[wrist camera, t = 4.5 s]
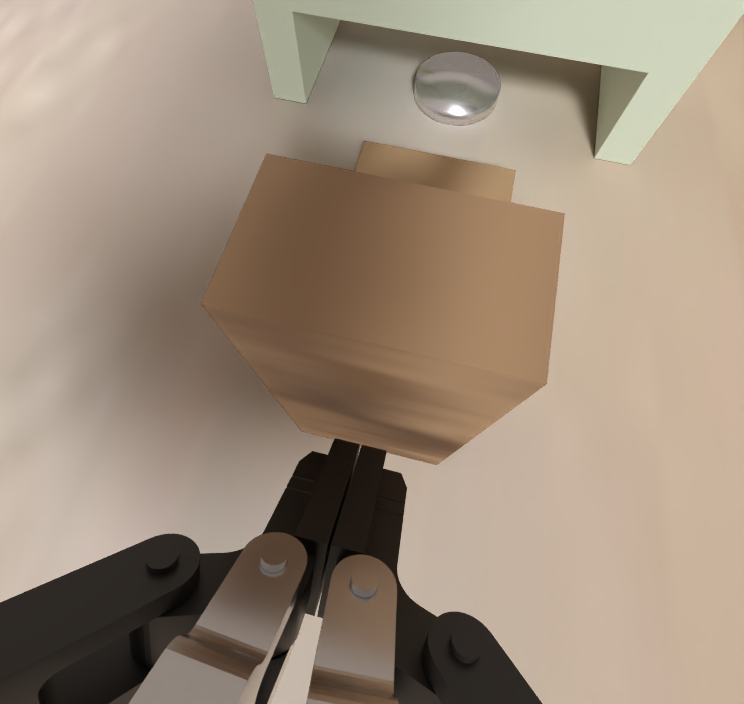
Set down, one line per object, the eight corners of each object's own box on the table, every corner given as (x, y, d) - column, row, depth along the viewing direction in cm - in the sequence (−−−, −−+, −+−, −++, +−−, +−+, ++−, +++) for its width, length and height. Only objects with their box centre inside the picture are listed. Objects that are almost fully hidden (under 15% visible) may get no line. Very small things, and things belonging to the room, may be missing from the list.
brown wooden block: (506, 190, 23) (634, -107, 12) (460, 470, 18) (608, 398, 7) (364, 162, 24) (362, -146, 13) (279, 425, 19) (147, 291, 8)
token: (500, 78, 27) (506, 59, 26) (488, 137, 25) (494, 119, 24) (422, 64, 27) (424, 45, 26) (405, 120, 26) (407, 103, 25)
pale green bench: (634, 68, 27) (755, -135, 18) (630, 165, 24) (770, -23, 16) (312, 13, 29) (289, -197, 20) (274, 97, 26) (228, -106, 17)
